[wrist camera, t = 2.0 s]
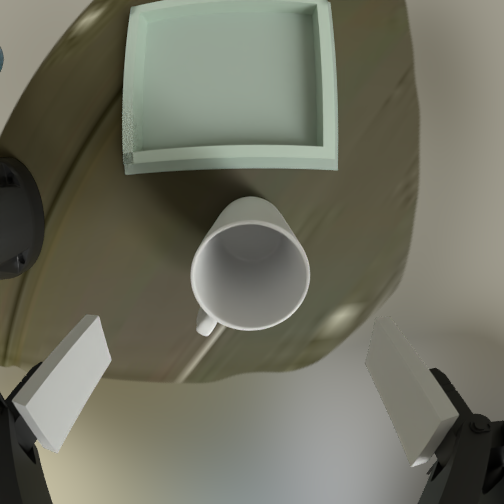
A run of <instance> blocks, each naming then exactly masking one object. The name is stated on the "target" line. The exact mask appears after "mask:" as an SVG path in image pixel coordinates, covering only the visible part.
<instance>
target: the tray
mask: <svg viewBox="0 0 504 504" xmlns="http://www.w3.org/2000/svg"><path fill="white" fill-rule="evenodd" d="M122 143H123V165H125V175H129V174H140V173H152V172H166V171H182V170H202V169H233V168H293V169H324V170H338V104H337V78H336V60H335V46H334V34H333V23H332V14H331V5H330V2H327V0H163V1H158V2H153V3H148V4H143V5H139V6H135V7H131V10H130V17H129V25H128V33H127V42H126V53H125V65H124V81H123V110H122Z"/></svg>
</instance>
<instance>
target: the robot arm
mask: <svg viewBox="0 0 504 504" xmlns="http://www.w3.org/2000/svg"><path fill="white" fill-rule="evenodd" d="M3 59H4V57H3V52H2V49H1V47H0V72H1V69H2V66H3ZM43 238H44V213H43V206H42V201H41V197H40V194H39V191H38V188H37V185H36V183H35V181H34V179H33V177H32V175H31V174H30V172H29V171H28V170H27V168H26V167H25V166H24V165H23V164H22V163H21V162H19V161H18V160H16V159H13V158H9V157H4V158H0V280H2V279H10V278H14V277H17V276H19V275H20V274H22V273H23V272H25V271H27V270H28V269H29V268H31V267H32V266H33V265H34V263H35V262H36V260H37V258H38V256H39V254H40V251H41V248H42V244H43ZM110 362H111V357H110V354H109V350H108V347H107V344H106V340H105V337H104V333H103V329H102V326H101V322H100V318H99V316H98V315H88V314H86V315H85V316H84V318H83V319H82V320H81V321H80V322H79V323H78V324H77V325H76V326H75V327H74V328H73V329H72V330H71V332H70V333H69V334H68V335H67V336H66V337H65V338H64V339H63V340H62V341H61V343H60V344H59V345H58V346H57V347H56V348H55V349H54V350H53V352H52V353H51V354H50V355H49V356H48V357H47V358H46V360H45V361H44V362H40V363H39V364H37V365H36V366H34V367H32V369H31V370H30V371H29V372H28V373H27V376H25V377H24V378H23V379H22V382H20V383H19V384H18V385H17V387H16V388H15V389H14V390H13V391H12V392H11V394H10V395H9V396H8V398H7V399H6V400H4V398H3V396H2V395H1V393H0V504H53V503H52V500H51V497H50V494H49V491H48V488H47V485H46V481H45V478H44V474H43V470H42V467H41V463H40V458H39V454H38V450H37V448H36V446H35V444H34V443H35V442H36V440H38V441H39V442H40V444H41V445H42V446H43V447H44V448H45V449H48V450H50V451H53V452H55V453H58V451H59V450H60V447H61V445H62V444H63V442H64V440H65V438H66V437H67V435H68V433H69V431H70V429H71V428H72V426H73V424H74V422H75V420H76V419H77V417H78V415H79V413H80V412H81V410H82V408H83V407H84V405H85V403H86V402H87V400H88V398H89V396H90V395H91V393H92V391H93V390H94V388H95V386H96V385H97V383H98V381H99V380H100V378H101V377H102V375H103V373H104V372H105V370H106V368H107V367H108V365H109V364H110ZM365 365H366V367H367V369H368V371H369V373H370V375H371V377H372V379H373V381H374V384H375V386H376V388H377V390H378V392H379V394H380V396H381V399H382V401H383V403H384V405H385V408H386V410H387V412H388V414H389V416H390V419H391V421H392V423H393V425H394V428H395V430H396V432H397V434H398V437H399V439H400V442H401V444H402V446H403V449H404V451H405V454H406V456H407V458H408V461H409V463H410V466H411V467H413V466H416V465H419V464H422V463H425V462H428V461H429V460H430V458H431V457H432V455H433V454H434V453H435V455H436V457H437V461H436V462H435V463H434V464H433V466H432V467H431V468H430V469H429V471H428V472H427V474H428V475H429V474H430V473H431V474H430V477H429V479H428V481H427V484H426V486H425V488H424V491H423V493H422V495H421V498H420V500H419V502H418V504H504V421H496V422H491V421H490V420H489V419H488V418H487V417H486V416H483V415H481V414H473V413H472V412H471V410H470V409H469V407H468V406H467V405H466V403H465V402H464V400H463V399H462V397H461V396H460V394H459V393H458V391H456V390H455V387H454V386H453V385H452V384H451V382H450V381H449V379H448V378H447V376H446V375H445V374H444V373H442V372H441V371H440V370H438V369H437V368H433V369H428V367H427V366H426V365H425V363H424V362H423V361H422V359H421V358H420V356H419V355H418V354H417V352H416V351H415V349H414V348H413V347H412V345H411V344H410V343H409V341H408V340H407V338H406V337H405V336H404V335H403V333H402V332H401V330H400V329H399V328H398V326H397V325H396V324H395V322H394V321H393V320H392V319H391V317H390V316H387V317H376V318H375V323H374V328H373V332H372V337H371V341H370V345H369V350H368V354H367V358H366V362H365ZM431 471H432V472H431Z"/></svg>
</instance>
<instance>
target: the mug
mask: <svg viewBox="0 0 504 504" xmlns="http://www.w3.org/2000/svg"><path fill="white" fill-rule="evenodd" d="M190 275H191V286H192V290H193V293H194V295H195V298H196V300H197V301H198V303H199V305H200V309H199V312H198V316H197V327H196V330H197V332H198V333H200V334H201V335H203V336H208V335H209V334H210V333H211V332H212V330H213V329H214V327H215V326H216V323H217V322H219V323H220V324H223V325H225V326H227V327H230V328H234V329H239V330H260V329H265V328H269V327H272V326H274V325H277V324H279V323H281V322H282V321H284V320H286V319H287V318H288V317H290V316H291V315H292V314H293V313H294V312H295V311H296V310H297V309H298V307H299V306H300V305H301V303H302V302H303V300H304V298H305V296H306V293H307V290H308V287H309V282H310V268H309V262H308V259H307V256H306V253H305V251H304V249H303V248H302V246H301V245H300V243H299V241H298V240H297V238H296V236H295V235H294V233H293V232H292V230H291V229H290V227H289V226H288V224H287V223H286V221H285V219H284V218H283V216H282V215H281V213H280V212H279V211H278V210H277V208H276V207H275V206H274V205H273V204H271V203H270V202H269V201H267V200H265V199H262V198H259V197H243V198H239V199H237V200H235V201H233V202H232V203H230V204H229V205H228V206H227V207H226V208H225V209H224V210H223V211H222V213H221V214H220V215H219V217H218V218H217V220H216V221H215V223H214V224H213V226H212V227H211V229H210V230H209V232H208V233H207V234H206V236H205V237H204V239H203V241H202V242H201V244H200V246H199V248H198V249H197V251H196V253H195V255H194V258H193V261H192V265H191V274H190Z"/></svg>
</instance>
